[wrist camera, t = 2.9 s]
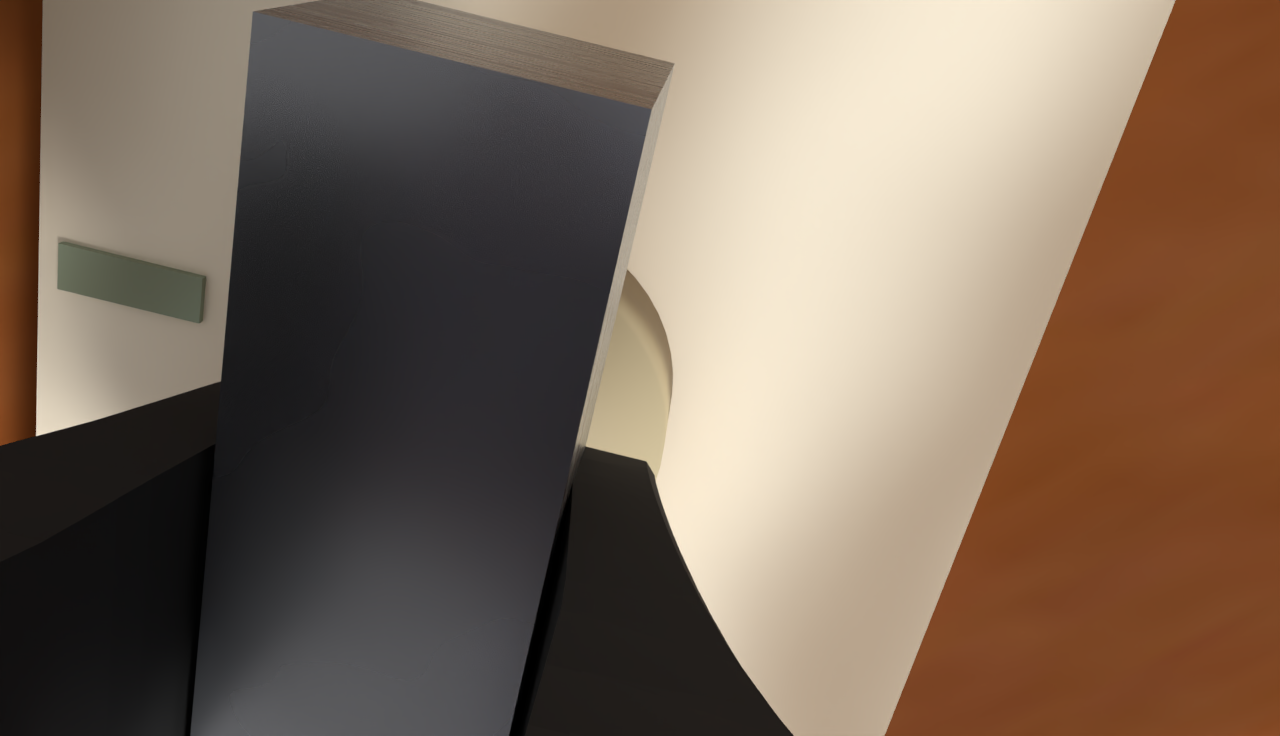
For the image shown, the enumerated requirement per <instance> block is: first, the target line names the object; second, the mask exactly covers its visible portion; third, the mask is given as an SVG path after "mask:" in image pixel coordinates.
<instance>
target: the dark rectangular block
mask: <svg viewBox="0 0 1280 736" xmlns="http://www.w3.org/2000/svg"><path fill="white" fill-rule="evenodd" d="M674 65H675V63H671V62H667V61H663V60H659V59H655V58H651V57H647V56H643V55H639V54H635V53H631V52H627V51H623V50H618V49H614V48H610V47H606V46H602V45H598V44H594V43H590V42H586V41H582V40H578V39H574V38H570V37H566V36H561V35H557V34H553V33H549V32H545V31H541V30H537V29H533V28H529V27H525V26H521V25H517V24H513V23H509V22H504V21H500V20H496V19H492V18H488V17H484V16H480V15H476V14H472V13H468V12H464V11H460V10H456V9H452V8H448V7H443V6H439V5H435V4H431V3H427V2H423V1H419V0H318V1H312V2H306V3H300V4H294V5H288V6H282V7H276V8H270V9H264V10H258V11H253V15H252V27H251V39H250V50H249V62H248V73H247V85H246V96H245V108H244V120H243V131H242V143H241V154H240V166H239V178H238V189H237V201H236V212H235V224H234V235H233V247H232V259H231V270H230V282H229V293H228V305H227V317H226V328H225V340H224V351H223V363H222V374H221V386H220V398H219V409H218V421H217V432H216V444H215V456H214V467H213V479H212V490H211V502H210V513H209V525H208V537H207V548H206V560H205V571H204V583H203V595H202V606H201V618H200V629H199V641H198V653H197V664H196V676H195V687H194V699H193V710H192V722H191V734H190V736H514V735H515V731H516V726H517V722H518V718H519V713H520V709H521V705H522V700H523V696H524V692H525V687H526V683H527V679H528V674H529V670H530V666H531V661H532V657H533V653H534V648H535V644H536V640H537V635H538V631H539V627H540V622H541V618H542V614H543V609H544V605H545V601H546V596H547V592H548V588H549V583H550V579H551V575H552V570H553V566H554V562H555V557H556V553H557V549H558V544H559V540H560V536H561V531H562V527H563V523H564V518H565V514H566V510H567V505H568V501H569V497H570V492H571V488H572V484H573V480H574V477H575V474H576V471H577V468H578V466H579V463H580V460H581V457H582V455H583V453H584V450H585V447H586V443H587V439H588V434H589V430H590V426H591V422H592V417H593V413H594V409H595V404H596V400H597V396H598V391H599V387H600V383H601V379H602V374H603V370H604V366H605V361H606V357H607V353H608V348H609V344H610V340H611V336H612V331H613V327H614V323H615V318H616V314H617V310H618V305H619V301H620V297H621V293H622V288H623V284H624V280H625V275H626V271H627V267H628V262H629V258H630V254H631V250H632V245H633V241H634V237H635V232H636V228H637V224H638V219H639V215H640V211H641V207H642V202H643V198H644V194H645V189H646V185H647V181H648V176H649V172H650V168H651V164H652V159H653V155H654V151H655V146H656V142H657V138H658V133H659V129H660V125H661V121H662V116H663V112H664V108H665V103H666V99H667V95H668V90H669V86H670V82H671V78H672V73H673V69H674Z"/></svg>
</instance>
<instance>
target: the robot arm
mask: <svg viewBox="0 0 1280 736" xmlns="http://www.w3.org/2000/svg"><path fill="white" fill-rule="evenodd" d="M220 386H221V381H220V382H217V383H213V384H210V385H207V386H204V387H200V388H197V389H194V390H191V391H188V392H185V393H181V394H178V395H175V396H172V397H169V398H165V399H162V400H159V401H156V402H153V403H149V404H146V405H143V406H140V407H137V408H133V409H130V410H127V411H124V412H120V413H117V414H114V415H111V416H108V417H104V418H101V419H98V420H94V421H91V422H87V423H83V424H80V425H76V426H72V427H69V428H65V429H61V430H57V431H54V432H50V433H46V434H42V435H39V436H35V437H31V438H28V439H24V440H20V441H16V442H13V443H9V444H5V445H1V446H0V736H190V734H191V722H192V710H193V699H194V687H195V676H196V664H197V653H198V641H199V629H200V618H201V606H202V595H203V583H204V571H205V560H206V548H207V537H208V525H209V513H210V502H211V490H212V479H213V467H214V456H215V444H216V432H217V421H218V409H219V398H220ZM514 736H794V735H793V734H792V733H791V732H790V730H789V729H788V728H787V727H786V726H785V724H784V723H783V722H782V721H781V719H780V718H779V717H778V716H777V714H776V713H775V712H774V710H773V709H772V708H771V706H770V705H769V704H768V702H767V701H766V700H765V698H764V697H763V695H762V694H761V693H760V691H759V690H758V689H757V687H756V686H755V684H754V683H753V682H752V680H751V679H750V678H749V676H748V675H747V673H746V672H745V671H744V669H743V668H742V666H741V665H740V663H739V662H738V660H737V658H736V657H735V655H734V653H733V652H732V650H731V649H730V647H729V645H728V644H727V642H726V640H725V638H724V637H723V635H722V633H721V631H720V630H719V628H718V626H717V624H716V622H715V621H714V619H713V617H712V615H711V614H710V612H709V610H708V608H707V606H706V604H705V602H704V600H703V598H702V596H701V594H700V592H699V591H698V589H697V586H696V584H695V582H694V580H693V578H692V576H691V573H690V571H689V569H688V567H687V565H686V563H685V560H684V558H683V556H682V554H681V552H680V550H679V547H678V545H677V542H676V540H675V537H674V535H673V532H672V530H671V527H670V524H669V522H668V519H667V516H666V514H665V511H664V508H663V505H662V502H661V499H660V495H659V492H658V488H657V485H656V480H655V475H654V473H653V472H652V470H651V468H650V467H649V465H648V463H647V462H646V461H643V460H639V459H635V458H631V457H627V456H623V455H619V454H614V453H610V452H606V451H602V450H598V449H594V448H590V447H585V450H584V453H583V455H582V457H581V460H580V463H579V466H578V468H577V471H576V474H575V477H574V480H573V484H572V488H571V492H570V497H569V501H568V505H567V510H566V514H565V518H564V523H563V527H562V531H561V536H560V540H559V544H558V549H557V553H556V557H555V562H554V566H553V570H552V575H551V579H550V583H549V588H548V592H547V596H546V601H545V605H544V609H543V614H542V618H541V622H540V627H539V631H538V635H537V640H536V644H535V648H534V653H533V657H532V661H531V666H530V670H529V674H528V679H527V683H526V687H525V692H524V696H523V700H522V705H521V709H520V713H519V718H518V722H517V726H516V731H515V735H514Z"/></svg>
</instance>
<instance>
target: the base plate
mask: <svg viewBox="0 0 1280 736" xmlns="http://www.w3.org/2000/svg"><path fill="white" fill-rule="evenodd" d="M312 1H318V0H43V20H42V85H41V149H40V214H39V278H38V343H37V407H36V436H39V435H42V434H46V433H50V432H54V431H57V430H61V429H65V428H69V427H72V426H76V425H80V424H83V423H87V422H91V421H94V420H98V419H101V418H104V417H108V416H111V415H114V414H117V413H120V412H124V411H127V410H130V409H133V408H137V407H140V406H143V405H146V404H149V403H153V402H156V401H159V400H162V399H165V398H169V397H172V396H175V395H178V394H181V393H185V392H188V391H191V390H194V389H197V388H200V387H204V386H207V385H210V384H213V383H217V382H220V381H221V374H222V363H223V351H224V340H225V328H226V317H227V305H228V293H229V282H230V270H231V259H232V247H233V235H234V224H235V212H236V201H237V189H238V178H239V166H240V154H241V143H242V131H243V120H244V108H245V96H246V85H247V73H248V62H249V50H250V39H251V27H252V15H253V11H258V10H264V9H270V8H276V7H282V6H288V5H294V4H300V3H306V2H312ZM419 1H423V2H427V3H431V4H435V5H439V6H443V7H448V8H452V9H456V10H460V11H464V12H468V13H472V14H476V15H480V16H484V17H488V18H492V19H496V20H500V21H504V22H509V23H513V24H517V25H521V26H525V27H529V28H533V29H537V30H541V31H545V32H549V33H553V34H557V35H561V36H566V37H570V38H574V39H578V40H582V41H586V42H590V43H594V44H598V45H602V46H606V47H610V48H614V49H618V50H623V51H627V52H631V53H635V54H639V55H643V56H647V57H651V58H655V59H659V60H663V61H667V62H671V63H675V65H674V69H673V73H672V78H671V82H670V86H669V90H668V95H667V99H666V103H665V108H664V112H663V116H662V121H661V125H660V129H659V133H658V138H657V142H656V146H655V151H654V155H653V159H652V164H651V168H650V172H649V176H648V181H647V185H646V189H645V194H644V198H643V202H642V207H641V211H640V215H639V219H638V224H637V228H636V232H635V237H634V241H633V245H632V250H631V254H630V258H629V262H628V267H627V271H626V275H625V280H624V284H623V288H622V293H621V297H620V301H619V305H618V310H617V314H616V318H615V323H614V327H613V331H612V336H611V340H610V344H609V348H608V353H607V357H606V361H605V366H604V370H603V374H602V379H601V383H600V387H599V391H598V396H597V400H596V404H595V409H594V413H593V417H592V422H591V426H590V430H589V434H588V439H587V443H586V447H590V448H594V449H598V450H602V451H606V452H610V453H614V454H619V455H623V456H627V457H631V458H635V459H639V460H643V461H646V462H647V463H648V465H649V467H650V468H651V470H652V472H653V473H654V475H655V480H656V485H657V488H658V492H659V495H660V499H661V502H662V505H663V508H664V511H665V514H666V516H667V519H668V522H669V524H670V527H671V530H672V532H673V535H674V537H675V540H676V542H677V545H678V547H679V550H680V552H681V554H682V556H683V558H684V560H685V563H686V565H687V567H688V569H689V571H690V573H691V576H692V578H693V580H694V582H695V584H696V586H697V589H698V591H699V592H700V594H701V596H702V598H703V600H704V602H705V604H706V606H707V608H708V610H709V612H710V614H711V615H712V617H713V619H714V621H715V622H716V624H717V626H718V628H719V630H720V631H721V633H722V635H723V637H724V638H725V640H726V642H727V644H728V645H729V647H730V649H731V650H732V652H733V653H734V655H735V657H736V658H737V660H738V662H739V663H740V665H741V666H742V668H743V669H744V671H745V672H746V673H747V675H748V676H749V678H750V679H751V680H752V682H753V683H754V684H755V686H756V687H757V689H758V690H759V691H760V693H761V694H762V695H763V697H764V698H765V700H766V701H767V702H768V704H769V705H770V706H771V708H772V709H773V710H774V712H775V713H776V714H777V716H778V717H779V718H780V719H781V721H782V722H783V723H784V724H785V726H786V727H787V728H788V729H789V730H790V732H791V733H792V734H793V735H794V736H884V735H885V733H886V730H887V728H888V725H889V723H890V720H891V718H892V715H893V713H894V710H895V708H896V705H897V703H898V700H899V698H900V695H901V693H902V690H903V687H904V685H905V682H906V680H907V677H908V675H909V672H910V670H911V667H912V665H913V662H914V660H915V657H916V655H917V652H918V650H919V647H920V645H921V642H922V639H923V637H924V634H925V632H926V629H927V627H928V624H929V622H930V619H931V617H932V614H933V612H934V609H935V607H936V604H937V602H938V599H939V596H940V594H941V591H942V589H943V586H944V584H945V581H946V579H947V576H948V574H949V571H950V569H951V566H952V564H953V561H954V559H955V556H956V554H957V551H958V548H959V546H960V543H961V541H962V538H963V536H964V533H965V531H966V528H967V526H968V523H969V521H970V518H971V516H972V513H973V511H974V508H975V505H976V503H977V500H978V498H979V495H980V493H981V490H982V488H983V485H984V483H985V480H986V478H987V475H988V473H989V470H990V468H991V465H992V463H993V460H994V457H995V455H996V452H997V450H998V447H999V445H1000V442H1001V440H1002V437H1003V435H1004V432H1005V430H1006V427H1007V425H1008V422H1009V420H1010V417H1011V415H1012V412H1013V409H1014V407H1015V404H1016V402H1017V399H1018V397H1019V394H1020V392H1021V389H1022V387H1023V384H1024V382H1025V379H1026V377H1027V374H1028V372H1029V369H1030V366H1031V364H1032V361H1033V359H1034V356H1035V354H1036V351H1037V349H1038V346H1039V344H1040V341H1041V339H1042V336H1043V334H1044V331H1045V329H1046V326H1047V324H1048V321H1049V318H1050V316H1051V313H1052V311H1053V308H1054V306H1055V303H1056V301H1057V298H1058V296H1059V293H1060V291H1061V288H1062V286H1063V283H1064V281H1065V278H1066V275H1067V273H1068V270H1069V268H1070V265H1071V263H1072V260H1073V258H1074V255H1075V253H1076V250H1077V248H1078V245H1079V243H1080V240H1081V238H1082V235H1083V233H1084V230H1085V227H1086V225H1087V222H1088V220H1089V217H1090V215H1091V212H1092V210H1093V207H1094V205H1095V202H1096V200H1097V197H1098V195H1099V192H1100V190H1101V187H1102V184H1103V182H1104V179H1105V177H1106V174H1107V172H1108V169H1109V167H1110V164H1111V162H1112V159H1113V157H1114V154H1115V152H1116V149H1117V147H1118V144H1119V142H1120V139H1121V136H1122V134H1123V131H1124V129H1125V126H1126V124H1127V121H1128V119H1129V116H1130V114H1131V111H1132V109H1133V106H1134V104H1135V101H1136V99H1137V96H1138V94H1139V91H1140V88H1141V86H1142V83H1143V81H1144V78H1145V76H1146V73H1147V71H1148V68H1149V66H1150V63H1151V61H1152V58H1153V56H1154V53H1155V51H1156V48H1157V45H1158V43H1159V40H1160V38H1161V35H1162V33H1163V30H1164V28H1165V25H1166V23H1167V20H1168V18H1169V15H1170V13H1171V10H1172V8H1173V5H1174V3H1175V0H419Z"/></svg>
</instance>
